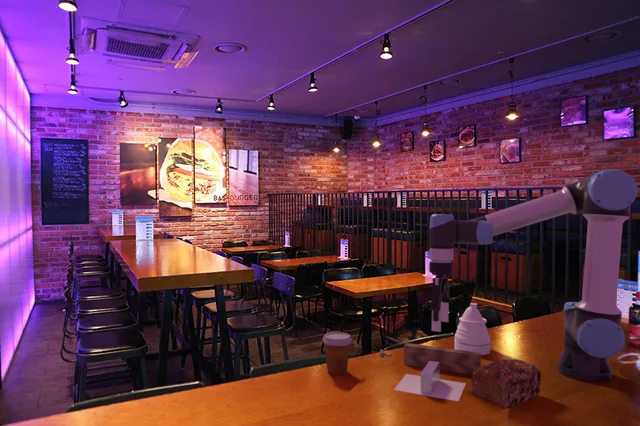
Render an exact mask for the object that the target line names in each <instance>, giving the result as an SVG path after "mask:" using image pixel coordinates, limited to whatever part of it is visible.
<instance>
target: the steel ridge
mask: <svg viewBox="0 0 640 426" xmlns="http://www.w3.org/2000/svg"><path fill="white" fill-rule="evenodd" d="M440 371H441V370H440V362H434V361H429V362H428V364H427V365H426V367H423V369H422V371H421V372H420V376H421V393H423V394H429V395H432V393H433V391H434V389H435V388H436V386H437V384H438V382H439V381H440V379H441V378H440V375H441V372H440Z"/></svg>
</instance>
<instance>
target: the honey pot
mask: <svg viewBox="0 0 640 426" xmlns="http://www.w3.org/2000/svg"><path fill="white" fill-rule="evenodd" d="M469 305H470V306H469V307H467V308H465V311H464V312H463V314H462V315H461V317H459V318H458V320H459V323H458V325H457V327H456V328H457V329H456V331H455V334H454V349H455V350H463V351H471V352H478V353H481V356H484V355H489V354H490V353H491V337H490V335H489V331H488V327H487V326H486V324H487V321H488V320H487V319H486V318H484V317H483V316H482V313H480V310H479V309H478V303H475V302H470V303H469Z"/></svg>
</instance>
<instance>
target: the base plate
mask: <svg viewBox="0 0 640 426" xmlns="http://www.w3.org/2000/svg"><path fill="white" fill-rule="evenodd" d="M466 384H467V383H466V382H460V381H453V380H447V379H441V378H440V381H439V382H438V384H437V386H436V388H435V389H434V391H433V393H432V395H429V394H423V393H421V375H416V374H410V373H409V374H408V373H406V374H405V375H404V376H403V377H402V379H401V380H400V381H399V382H398V384H397V385H396V386H395V387H394V389H393V391H398V392H402V393H408V394H415V395H421V396H427V397H431V398H436V399H438V398H439V399H442V400H443V399H444V400H447V401H455V402H459V401H460V399H461V397H462V394H463V392H464V389H465V387H466Z"/></svg>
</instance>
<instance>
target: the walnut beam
mask: <svg viewBox="0 0 640 426" xmlns="http://www.w3.org/2000/svg"><path fill="white" fill-rule="evenodd" d="M429 361H434V362H440V371H446V372H452V373H460V374H466V375H471V376H472V374H473V372H474V371H476V370H477V369H478V368H480V367H482V365H481V363H482V355H481V353H478V352H471V351H463V350H455V348H446V347H439V346H432V345H423V344H415V343H409V342H406V343H405V344H404V345H403V364H404V365H406V366H413V367H418V368H419V367H420V368H425V367H426V365H427V364H428V362H429Z"/></svg>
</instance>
